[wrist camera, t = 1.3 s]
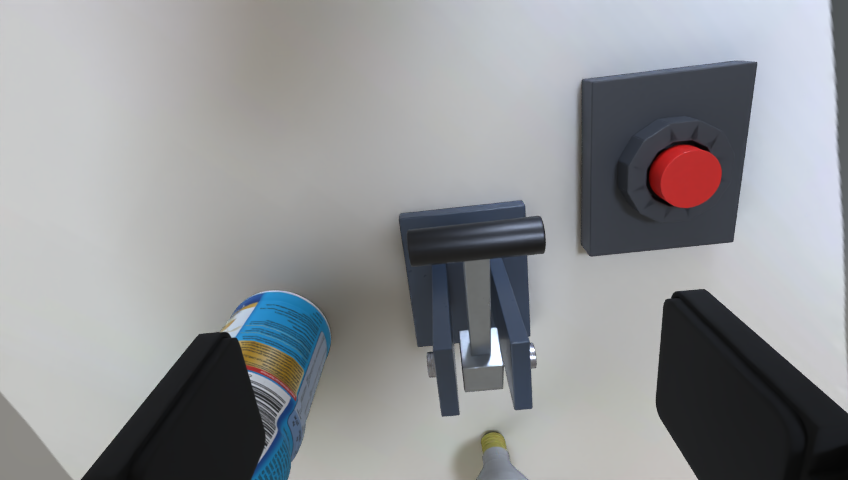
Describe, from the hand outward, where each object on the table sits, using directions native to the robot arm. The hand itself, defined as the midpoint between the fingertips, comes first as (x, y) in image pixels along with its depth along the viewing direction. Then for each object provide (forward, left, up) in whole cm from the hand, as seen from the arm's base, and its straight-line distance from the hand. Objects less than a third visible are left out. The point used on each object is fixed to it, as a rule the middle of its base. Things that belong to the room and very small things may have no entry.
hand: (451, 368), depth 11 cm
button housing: (-3, +15, -25) cm, 29 cm away
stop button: (-3, +15, -21) cm, 26 cm away
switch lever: (+5, +3, -13) cm, 14 cm away
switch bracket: (+9, +5, -25) cm, 27 cm away
